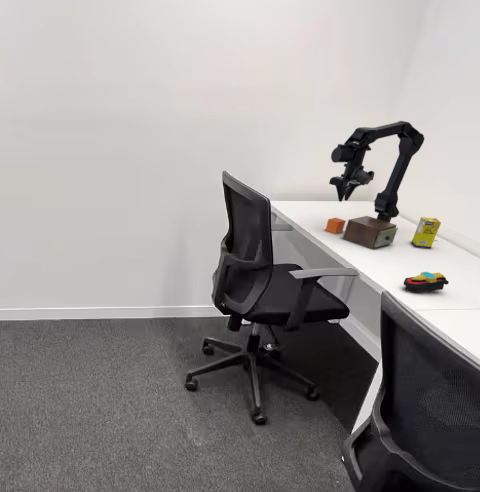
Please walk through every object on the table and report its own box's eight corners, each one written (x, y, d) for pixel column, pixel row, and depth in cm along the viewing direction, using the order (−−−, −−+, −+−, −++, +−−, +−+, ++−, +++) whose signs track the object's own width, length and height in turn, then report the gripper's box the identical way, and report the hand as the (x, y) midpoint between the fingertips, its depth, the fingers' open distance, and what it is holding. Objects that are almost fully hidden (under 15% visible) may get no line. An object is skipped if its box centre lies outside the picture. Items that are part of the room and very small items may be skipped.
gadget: (397, 289, 189) (400, 274, 186) (434, 283, 189) (438, 268, 186) (408, 296, 184) (411, 281, 181) (446, 291, 184) (451, 276, 181)
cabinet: (389, 244, 226) (396, 224, 221) (371, 248, 220) (378, 229, 215) (360, 234, 235) (366, 215, 231) (342, 238, 229) (348, 219, 225)
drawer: (395, 244, 223) (400, 229, 220) (378, 248, 218) (384, 233, 215) (365, 234, 233) (370, 219, 229) (348, 238, 227) (353, 223, 224)
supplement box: (430, 248, 223) (441, 222, 217) (415, 247, 224) (425, 220, 218) (426, 244, 228) (436, 218, 222) (410, 242, 229) (421, 216, 223)
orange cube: (332, 228, 240) (335, 217, 237) (342, 232, 237) (345, 220, 234) (325, 230, 238) (328, 219, 235) (335, 233, 235) (338, 222, 232)
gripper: (358, 168, 212) (346, 208, 220) (386, 164, 220) (373, 203, 229) (334, 162, 219) (322, 201, 228) (361, 158, 228) (350, 196, 237)
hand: (343, 201), depth 230 cm, fingers open, 4 cm apart
